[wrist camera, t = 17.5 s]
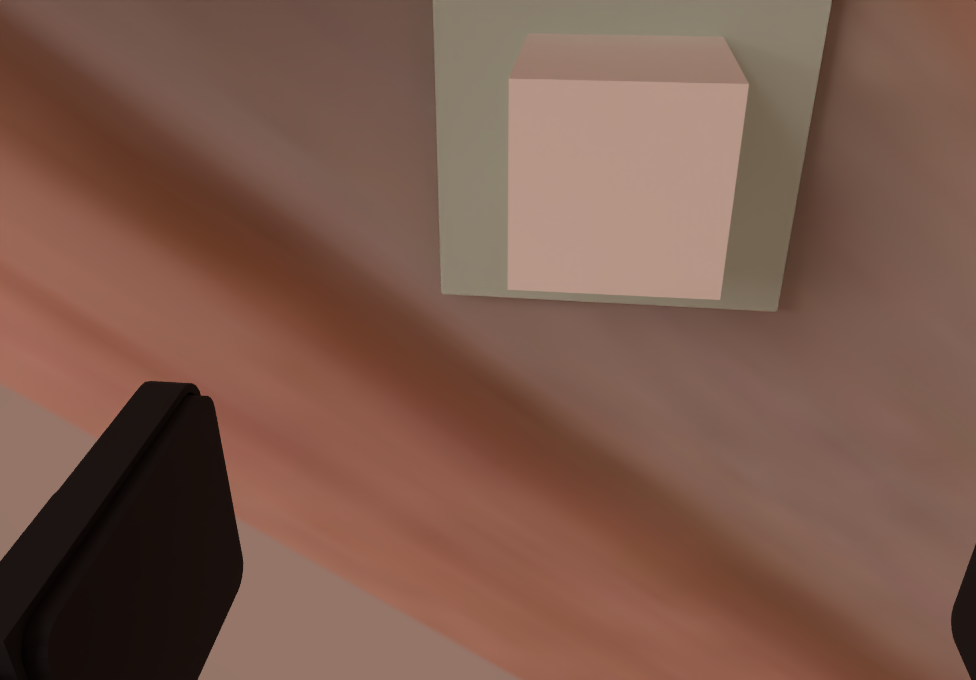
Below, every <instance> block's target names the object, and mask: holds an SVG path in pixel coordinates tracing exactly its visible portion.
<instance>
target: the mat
mask: <svg viewBox="0 0 976 680" xmlns="http://www.w3.org/2000/svg"><path fill="white" fill-rule="evenodd" d="M831 3H832V0H433V29H434V63H435V98H436V132H437V167H438V201H439V236H440V270H441V294H451V295H470V296H489V297H508V298H526V299H545V300H564V301H583V302H601V303H620V304H639V305H658V306H676V307H695V308H714V309H733V310H751V311H770V312H777V309H778V304H779V298H780V292H781V287H782V281H783V275H784V270H785V264H786V258H787V253H788V247H789V241H790V236H791V230H792V224H793V219H794V213H795V207H796V202H797V196H798V190H799V184H800V179H801V173H802V167H803V162H804V156H805V150H806V145H807V139H808V133H809V128H810V122H811V116H812V111H813V105H814V99H815V94H816V88H817V82H818V77H819V71H820V65H821V60H822V54H823V48H824V43H825V37H826V31H827V26H828V20H829V14H830V9H831ZM528 33H543V34H601V35H659V36H717V37H724V39H725V40H726V42H727V44H728V46H729V48H730V50H731V52H732V53H733V55H734V57H735V59H736V61H737V63H738V64H739V66H740V68H741V70H742V72H743V74H744V76H745V77H746V79H747V81H748V83H749V88H748V96H747V103H746V111H745V118H744V126H743V133H742V141H741V148H740V155H739V163H738V170H737V178H736V185H735V193H734V200H733V208H732V215H731V222H730V230H729V237H728V245H727V252H726V260H725V267H724V275H723V282H722V289H721V297H720V300H711V299H690V298H669V297H648V296H627V295H606V294H585V293H564V292H543V291H522V290H508V101H509V77H510V74H511V72H512V69H513V67H514V65H515V62H516V60H517V58H518V55H519V53H520V50H521V48H522V46H523V43H524V41H525V38H526V36H527V34H528Z"/></svg>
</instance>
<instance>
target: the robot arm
mask: <svg viewBox="0 0 976 680" xmlns="http://www.w3.org/2000/svg"><path fill="white" fill-rule="evenodd" d="M242 573H243V557H242V551H241V546H240V540H239V535H238V530H237V525H236V519H235V514H234V508H233V503H232V497H231V492H230V487H229V481H228V476H227V471H226V465H225V460H224V454H223V449H222V444H221V438H220V433H219V428H218V422H217V417H216V411H215V407H214V403H213V401H212V399H211V398H210V397H209V396H201V394H200V391H199V389H198V388H197V386H196V385H194V384H192V383H176V382H157V381H148V382H145V383H144V384H142V385H141V386H140V387H139V389H138V390H137V391H136V392H135V394H134V395H133V396H132V397H131V399H130V400H129V401H128V402H127V404H126V405H125V406H124V408H123V409H122V410H121V411H120V413H119V414H118V415H117V416H116V418H115V419H114V420H113V421H112V423H111V424H110V425H109V427H108V428H107V429H106V430H105V432H104V433H103V434H102V435H101V437H100V438H99V439H98V440H97V442H96V443H95V444H94V446H93V447H92V448H91V450H90V451H89V452H88V453H87V455H86V456H85V457H84V459H82V461H81V462H80V463H79V465H78V466H77V467H76V468H75V470H74V471H73V472H72V474H71V475H70V476H69V477H68V478H67V480H66V481H65V482H64V484H63V485H62V486H61V487H60V489H59V490H58V491H57V492H56V493H55V494H54V495H53V496H52V497H51V498H50V499H49V501H48V502H47V503H46V504H45V506H44V507H43V508H42V509H41V511H40V512H39V513H38V515H37V516H36V517H35V518H34V520H33V521H32V522H31V523H30V525H29V526H28V527H27V528H26V530H25V531H24V532H23V533H22V535H21V536H20V537H19V539H18V540H17V541H16V542H15V544H14V545H13V546H12V547H11V549H10V550H9V551H8V553H7V554H6V555H5V556H4V557H3V559H2V560H1V561H0V680H198V677H199V675H200V673H201V671H202V669H203V666H204V664H205V662H206V660H207V658H208V655H209V653H210V651H211V649H212V647H213V645H214V642H215V640H216V638H217V636H218V634H219V631H220V629H221V627H222V625H223V622H224V620H225V618H226V616H227V614H228V612H229V609H230V607H231V605H232V603H233V601H234V598H235V596H236V594H237V592H238V589H239V587H240V584H241V579H242ZM951 626H952V633H953V638H954V641H955V644H956V646H957V648H958V650H959V653H960V655H961V657H962V660H963V662H964V664H965V666H966V669H967V671H968V673H969V675H970V678H971V680H976V545H975V548H974V550H973V553H972V556H971V559H970V562H969V564H968V567H967V570H966V573H965V576H964V578H963V581H962V584H961V587H960V590H959V592H958V595H957V598H956V601H955V604H954V606H953V610H952V617H951Z"/></svg>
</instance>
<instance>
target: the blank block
mask: <svg viewBox="0 0 976 680" xmlns="http://www.w3.org/2000/svg"><path fill="white" fill-rule="evenodd" d="M748 88H749V83H748V81H747V79H746V77H745V76H744V74H743V72H742V70H741V68H740V66H739V64H738V63H737V61H736V59H735V57H734V55H733V53H732V52H731V50H730V48H729V46H728V44H727V42H726V40H725V39H724V37H717V36H659V35H601V34H543V33H528V34H527V36H526V38H525V41H524V43H523V46H522V48H521V50H520V53H519V55H518V58H517V60H516V62H515V65H514V67H513V69H512V72H511V74H510V77H509V101H508V290H522V291H543V292H564V293H585V294H606V295H627V296H648V297H669V298H690V299H711V300H720V297H721V289H722V282H723V275H724V267H725V260H726V252H727V245H728V237H729V230H730V222H731V215H732V208H733V200H734V193H735V185H736V178H737V170H738V163H739V155H740V148H741V141H742V133H743V126H744V118H745V111H746V103H747V96H748Z"/></svg>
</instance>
